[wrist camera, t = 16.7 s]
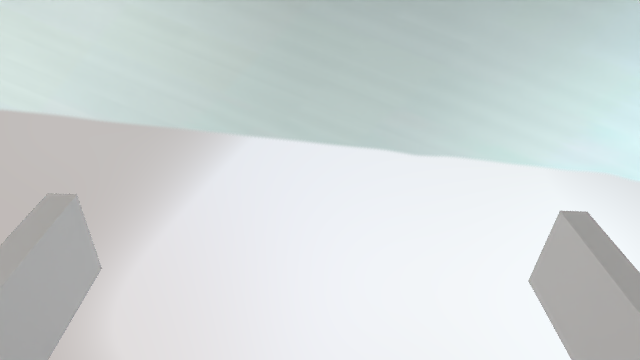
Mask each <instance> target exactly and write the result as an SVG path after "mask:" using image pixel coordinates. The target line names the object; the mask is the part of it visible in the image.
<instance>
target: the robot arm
mask: <svg viewBox="0 0 640 360" xmlns="http://www.w3.org/2000/svg"><path fill="white" fill-rule="evenodd" d="M101 269H102V268H101V265H100V262H99V259H98V256H97V253H96V250H95V247H94V244H93V241H92V238H91V235H90V232H89V229H88V226H87V223H86V220H85V217H84V214H83V211H82V208H81V205H80V202H79V200H78V196H77V194H47V195H46V196H45V197H44V198H43V199H42V200H41V201H40V202H39V204H38V205H37V206H36V207H35V208H34V209H33V210H32V211H31V212H30V213H29V214H28V216H27V217H26V218H25V219H24V220H23V221H22V222H21V223H20V224H19V225H18V226H17V228H16V229H15V230H14V231H13V232H12V233H11V234H10V235H9V236H8V237H7V238H6V240H5V241H4V242H3V243H2V244H1V245H0V360H48V359H49V358H50V356H51V354H52V352H53V351H54V349H55V347H56V346H57V344H58V342H59V340H60V339H61V337H62V335H63V333H64V332H65V330H66V328H67V327H68V325H69V323H70V322H71V320H72V318H73V317H74V315H75V313H76V311H77V310H78V308H79V306H80V305H81V303H82V301H83V299H84V298H85V296H86V294H87V293H88V291H89V289H90V287H91V286H92V284H93V282H94V281H95V279H96V277H97V275H98V274H99V272H100V270H101ZM529 283H530V285H531V286H532V288H533V290H534V292H535V294H536V296H537V297H538V299H539V301H540V303H541V305H542V307H543V308H544V310H545V312H546V314H547V316H548V318H549V319H550V321H551V323H552V325H553V327H554V329H555V330H556V332H557V334H558V336H559V338H560V339H561V341H562V343H563V345H564V347H565V349H566V350H567V352H568V354H569V356H570V358H571V359H572V360H640V273H639V272H638V270H637V269H636V268H635V267H634V266H633V265H632V263H631V262H630V261H629V260H628V259H627V258H626V256H625V255H624V254H623V253H622V252H621V251H620V249H619V248H618V247H617V246H616V245H615V244H614V242H613V241H612V240H611V239H610V238H609V237H608V235H607V234H606V233H605V232H604V231H603V230H602V228H601V227H600V226H599V225H598V224H597V223H596V221H595V220H594V219H593V218H592V217H591V216H590V214H589V213H588V212H578V211H560V212H559V215H558V217H557V219H556V221H555V223H554V225H553V228H552V230H551V232H550V234H549V236H548V239H547V241H546V243H545V245H544V248H543V250H542V252H541V254H540V256H539V259H538V261H537V263H536V265H535V268H534V270H533V272H532V274H531V276H530V279H529Z"/></svg>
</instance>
